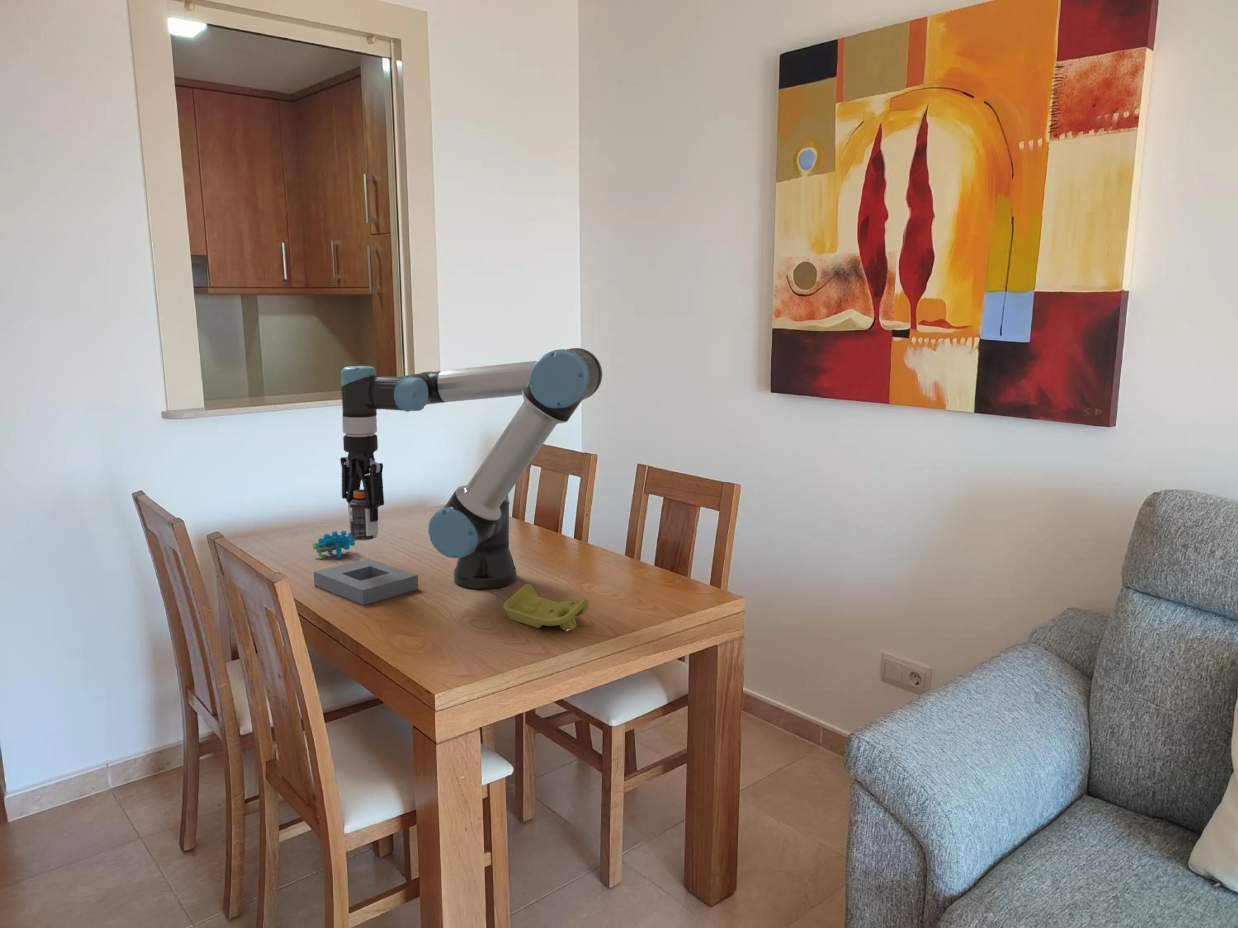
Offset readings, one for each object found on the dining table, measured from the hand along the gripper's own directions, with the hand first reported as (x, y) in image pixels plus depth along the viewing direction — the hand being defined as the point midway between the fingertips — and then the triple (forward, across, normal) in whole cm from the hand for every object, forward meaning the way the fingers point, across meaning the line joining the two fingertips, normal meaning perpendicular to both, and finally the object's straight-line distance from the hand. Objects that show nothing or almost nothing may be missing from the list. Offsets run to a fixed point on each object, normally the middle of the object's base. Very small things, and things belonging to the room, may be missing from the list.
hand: (363, 531), depth 203 cm
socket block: (+14, 0, 0) cm, 14 cm away
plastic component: (+14, -48, -13) cm, 51 cm away
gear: (+14, +28, -10) cm, 33 cm away
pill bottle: (+2, 0, 0) cm, 2 cm away
